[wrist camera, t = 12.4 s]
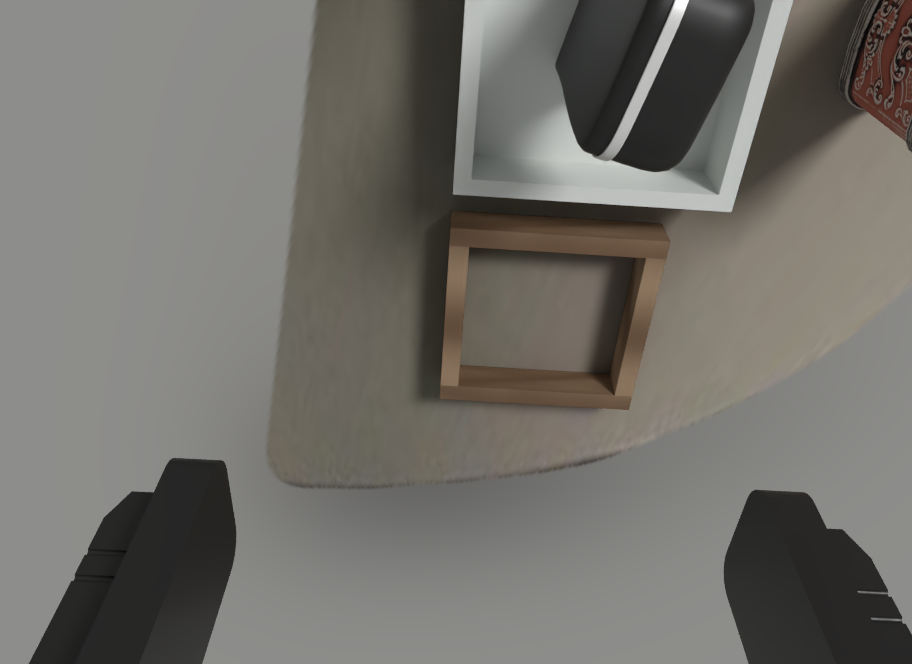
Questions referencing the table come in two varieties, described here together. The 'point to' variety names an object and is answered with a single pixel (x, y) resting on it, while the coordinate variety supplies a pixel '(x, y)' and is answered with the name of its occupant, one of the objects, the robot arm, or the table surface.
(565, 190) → the bin
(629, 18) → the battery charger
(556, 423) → the table surface
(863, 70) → the lighter
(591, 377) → the brown flat square frame
